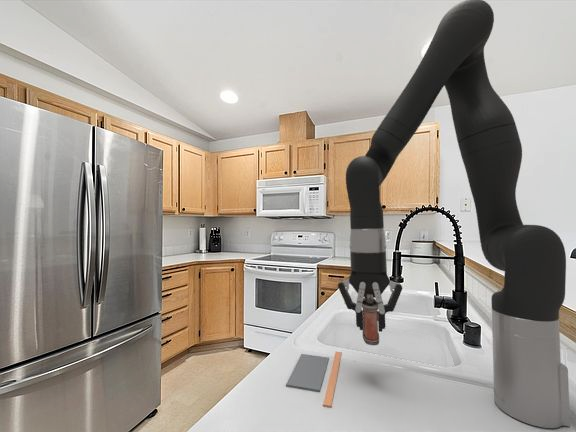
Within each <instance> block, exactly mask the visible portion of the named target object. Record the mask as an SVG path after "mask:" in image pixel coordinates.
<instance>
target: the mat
mask: <svg viewBox="0 0 576 432" xmlns="http://www.w3.org/2000/svg"><path fill="white" fill-rule="evenodd" d="M329 361H330V357H328V356H320V355H312V354H307V353H306V354H305V353H301V354H300V356H299V358H298V360H297V362H296V364H295V366H294V368H293V370H292V372H291V373H290V376H289V377H288V380H287V382H286V383H285V386H286V387H287V388H293V389H297V390H298V389H300V390H304V391H305V390H306V391H310V392H316V393H317V392H318V393H320V392H321V389H322V387H323V386H322V385H323V381H324V378H325V374H326V371H327V367H328V364H329Z"/></svg>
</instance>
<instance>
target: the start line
mask: <svg viewBox="0 0 576 432" xmlns="http://www.w3.org/2000/svg"><path fill="white" fill-rule="evenodd" d="M341 358H342V351H335V353H334V356H333V360H332V361H333V362H332V365H331V370H330V374H329V379H328V382H327V386H326V390H325V395H324V399H323V404H322V407H326V408H332V405H333V400H334V395H335V389H336V385H337V379H338V375H339V368H340V363H341Z"/></svg>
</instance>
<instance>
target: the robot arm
mask: <svg viewBox="0 0 576 432" xmlns="http://www.w3.org/2000/svg"><path fill="white" fill-rule="evenodd" d="M494 15H495V14H494V11H493V9H492V7H491V4H489V3H488V2H487V1H486V0H463V1H460V2H459V3H457V4H455V5H454V6H453V7H451V8H450V9H449V10H448V11H447V12H446V13H445V14H444V15H443V17H442V18H441V20H440V21H439V24H438V25H437V29H436V31H435V33H434V35H433V38H432V40H431V41H430V43H429V45H428V47H427V49H426V51H425V53H424V55H423V57H422V58H421V60H420V62H419V64H418V66H417V68H416V69H415V71H414V72H413V74H412V76H411V78H410V79H409V81H408V83H407V84H406V86H405V87H404V88H403V90H402V91H401V93H400V95H399V96H398V98H397V99H396V100H395V102H394V103H393V105H392V106H391V108H390V109H389V111H388V112H387V114H386V115H385V116H384V118H383V119H382V121H381V123H380V124H379V125H378V127H377V128H376V130H375V131H374V133H373V135H372V137H371V138H370V147H369V148H368V150H367V152H366V153H365V155H361V156H357V157H354V159H352V160H351V161H350V162H349V164H348V166H347V168H346V172H345V184H346V185H345V186H346V187H345V188H346V193H347V198H348V202H349V210H350V213H349V216H350V217H349V218H350V219H349V220H350V222H349V223H350V236H349V253H350V275H349V277H348V279H345V280H339V282H338V284H337V287H338V290H339V292H340V295H341V296H342V299H343V301H344V304H345V306H346V308H347V310H352V311H354V312H355V322H356V323H355V325H356V327H357V328H359V331H363V308H362V303H363V298H365V297H366V294H373V296H374V299H375V300H376V302H377V304H378V319H379V321H378V333H379V332H383V330H385V329H386V314H387V313H391V312H394V311H395V308H396V306H397V303H398V300H399V298H400V295H401V293H402V290H403V286H402V284H401V283H400V282H395V281H393V280H390V278H389V276H388V271H387V270H388V268H387V244H386V235H385V229H384V228H385V226H384V225H385V224H384V210H383V205H382V203H381V199H380V198H381V197H380V196H381V193H380V192H381V191H380V190H381V189H380V186H381V185H382V183H383V182H385V180H386V178H387V177H388V175H389V173H390V171H391V170H392V168H393V165H394V164H395V162H396V160H397V158H398V156H399V155H400V154H401V153H402V151H403V150H404V149H405V147H406V146H407V145H408V144H409V142H410V140H411V139H412V138H413V136H414V135H415V134H416V132H417V131H418V129H419V127H420V126H421V125H422V124H423V121H424V120H425V118H426V116H427V115H428V113H429V111H430V110H431V108H432V106H433V105H434V102H435V101H436V99H437V97H439V94H440V93H441V91H442V89H443V88H445V90H446V93H447V96H448V100H449V105H450V111H451V118H452V123H453V126H454V131H455V135H456V141H457V146H458V149H459V152H460V156H461V159H462V162H463V167H464V169H465V172H466V176H467V181H468V184H469V188H470V192H471V195H472V199H473V202H474V207H475V212H476V220H477V227H478V234H479V235H478V236H479V243H480V247H481V251H482V254H483V256H484V258H485V260H486V261H487V262H488V264H489V265H490V266H492V267H494V268H495V269H497V270H500V271H502V272H504V280H503V287H502V288H501V290H498V291H495V292H494V293H493V294H492V295H491V324H492V325H491V326H492V327H491V328H492V329H491V330H492V331H491V332H492V337H491V338H492V362H493V365H492V366H493V367H492V368H493V373H492V374H493V398H494V403H495V405H496V406H497V408H499V409H500V410H502V412H504V413H506V414H507V415H508V416H510V417H511V418H514V419H516V420H518V421H519V422H523V423H525V424H528V425H531V426H534V427H539V428H542V429H543V428H545V429H557V428H560V427H562V426H563V427H571V420H570V419H571V417H570V416H571V412H570V389H569V387H570V386H569V369H568V367H567V365H565V364H564V363H562V362H561V360H562V359H561V337H560V335H561V334H560V310H561V307H562V306H563V305H564V301H565V299H566V283H567V282H566V280H567V278H566V276H567V273H566V272H567V257H566V256H567V254H566V250H565V246H564V243H563V241H562V239H561V238H560V236H559V235H558V234H557V232H555V231H554V230H553V229H551V228H549V227H546V226H544V225H540V224H539V225H538V224H524V223H523V221H522V218H521V215H520V211H519V208H518V203H517V197H516V194H517V193H516V192H517V185H518V180H519V175H520V169H521V165H522V162H523V161H522V159H523V147H522V142H521V139H520V135H519V132H518V128H517V125H516V121H515V118H514V116H513V114H512V112H511V111H510V109H509V107H508V106H507V104H506V103H505V102H504V101H503V99H502V98H501V97H500V96H499V94H498V93H497V91H495V89H494V88H493V85H492V84H491V81H490V79H489V75H488V71H487V65H486V61H485V47H486V44H487V42H488V41H489V38H490V36H491V34H492V32H493V31H492V30H493V28H494V23H495V16H494ZM350 286H352V289H354V290H355V292H356V293H357V298H356V302H354V301H353V300H352V298H351V295H350V292H349V290H350ZM388 286H389V290H390V292H391V294H390V296H389V299H388V301H387V304H384V301H383V297H382V294H383V293H384V292H385V290H386V289H387V288H388Z"/></svg>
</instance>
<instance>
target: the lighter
mask: <svg viewBox="0 0 576 432" xmlns="http://www.w3.org/2000/svg"><path fill="white" fill-rule="evenodd" d="M362 310H363V330H362V339H363V341H364V343H365V344H366V345H369V346H378V345H379V344H380V334H379V328H378V321H379V319H378V311H379V310H378V304H377V302H376V298H374V296H373V294H366V297H363V303H362Z"/></svg>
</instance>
